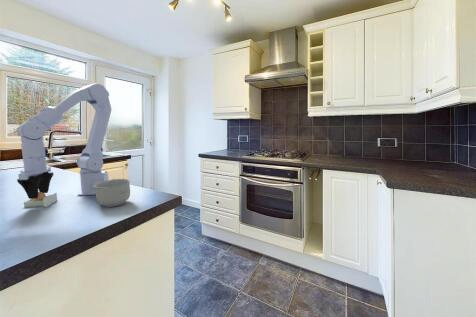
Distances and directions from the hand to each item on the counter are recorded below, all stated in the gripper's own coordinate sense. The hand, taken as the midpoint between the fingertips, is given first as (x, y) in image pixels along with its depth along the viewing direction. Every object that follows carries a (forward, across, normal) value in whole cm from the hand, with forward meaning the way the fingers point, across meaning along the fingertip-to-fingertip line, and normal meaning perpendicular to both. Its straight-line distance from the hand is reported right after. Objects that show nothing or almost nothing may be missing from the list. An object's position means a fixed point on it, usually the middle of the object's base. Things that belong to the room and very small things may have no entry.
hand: (38, 195), depth 76 cm
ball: (+1, 0, 0) cm, 1 cm away
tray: (+3, 0, 0) cm, 3 cm away
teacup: (+3, +6, +25) cm, 26 cm away
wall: (+3, +1, +4) cm, 5 cm away
